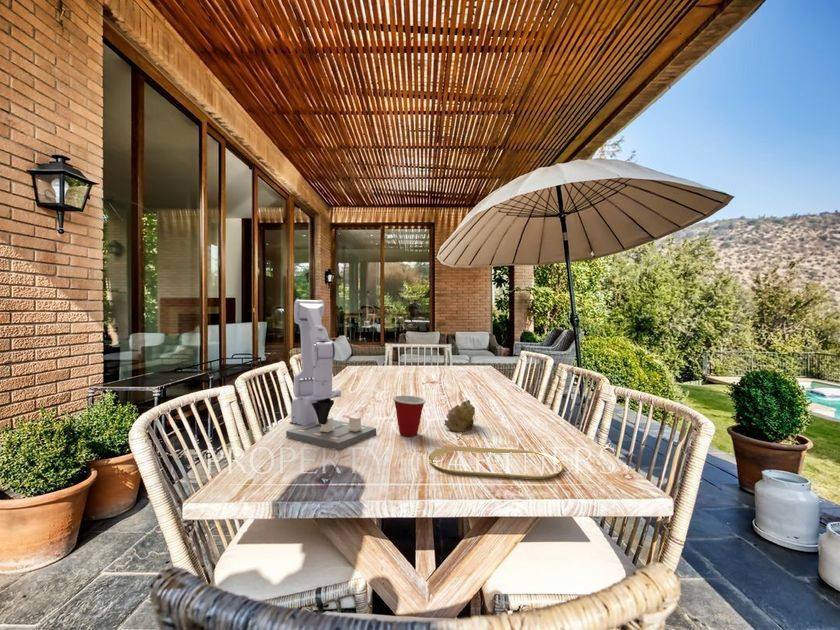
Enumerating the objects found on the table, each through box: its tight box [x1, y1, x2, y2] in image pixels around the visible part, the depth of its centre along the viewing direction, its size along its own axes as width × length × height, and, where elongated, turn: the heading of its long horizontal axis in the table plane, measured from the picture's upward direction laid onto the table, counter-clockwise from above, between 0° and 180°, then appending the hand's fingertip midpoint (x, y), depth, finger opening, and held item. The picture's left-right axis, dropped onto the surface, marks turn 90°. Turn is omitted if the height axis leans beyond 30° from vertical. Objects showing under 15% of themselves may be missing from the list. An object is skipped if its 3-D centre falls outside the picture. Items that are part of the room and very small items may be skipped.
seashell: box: [443, 399, 476, 433], centre depth 145 cm, size 11×14×10 cm
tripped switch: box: [320, 416, 334, 432], centre depth 130 cm, size 3×3×4 cm
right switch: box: [348, 415, 362, 432], centre depth 131 cm, size 3×3×4 cm
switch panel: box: [285, 419, 377, 451], centre depth 132 cm, size 22×18×2 cm
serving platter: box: [428, 445, 564, 480], centre depth 109 cm, size 19×35×2 cm, turn 82°
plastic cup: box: [393, 395, 427, 438], centre depth 135 cm, size 11×11×12 cm
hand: (322, 423), depth 128 cm, fingers closed
